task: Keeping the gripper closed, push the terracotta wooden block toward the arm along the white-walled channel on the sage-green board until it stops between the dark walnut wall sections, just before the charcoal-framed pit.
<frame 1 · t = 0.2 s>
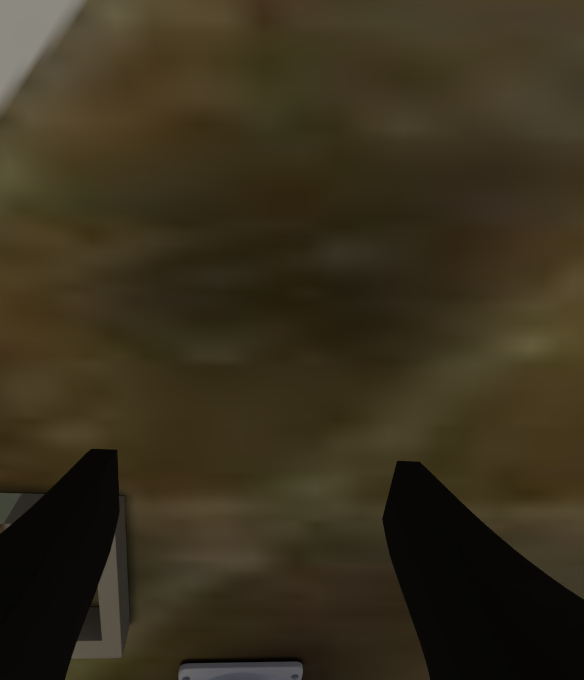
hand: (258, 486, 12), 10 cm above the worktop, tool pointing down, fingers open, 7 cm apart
route board: (3, 563, 26), on the worktop
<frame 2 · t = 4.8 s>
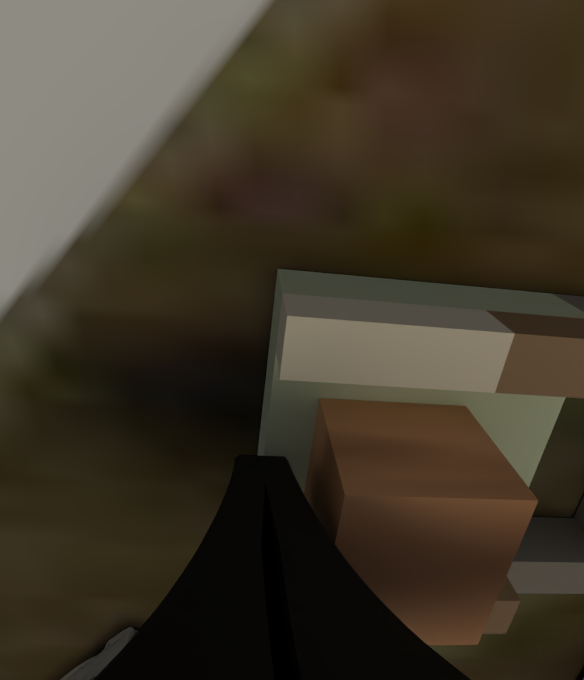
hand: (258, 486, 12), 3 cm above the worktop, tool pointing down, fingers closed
route board: (458, 433, 16), on the worktop
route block: (378, 470, 13), point 2 cm above the worktop, touching gripper
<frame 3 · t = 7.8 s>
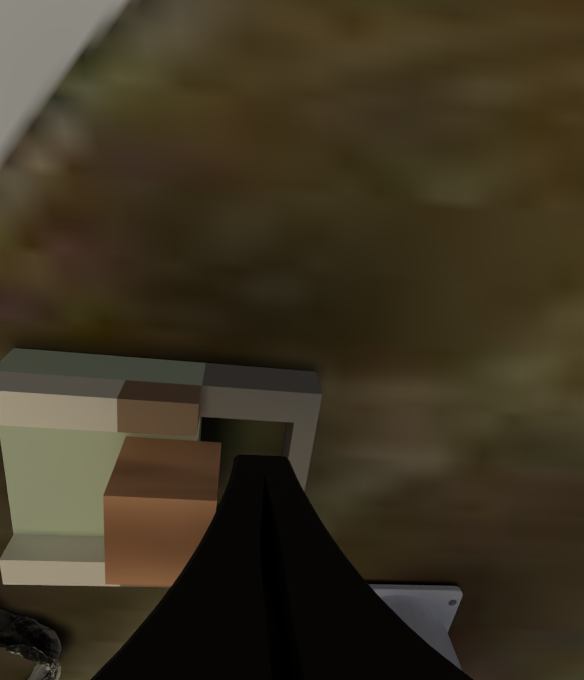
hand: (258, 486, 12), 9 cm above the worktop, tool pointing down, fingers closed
route board: (168, 452, 23), on the worktop
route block: (172, 480, 21), point 2 cm above the worktop, touching route board
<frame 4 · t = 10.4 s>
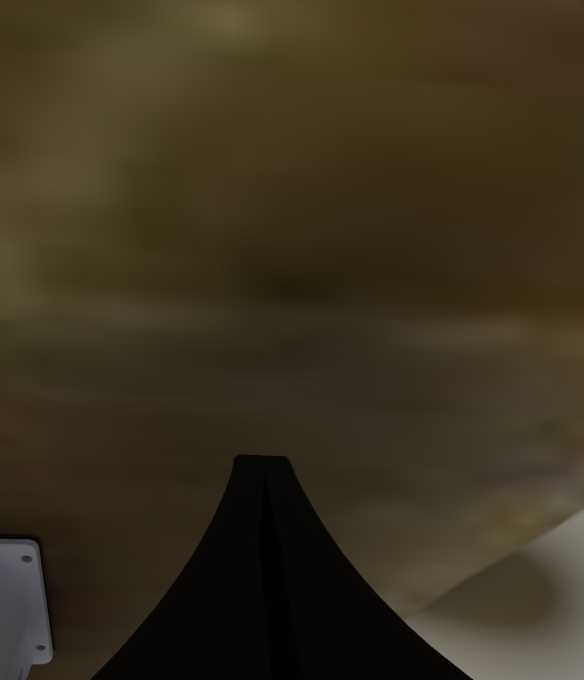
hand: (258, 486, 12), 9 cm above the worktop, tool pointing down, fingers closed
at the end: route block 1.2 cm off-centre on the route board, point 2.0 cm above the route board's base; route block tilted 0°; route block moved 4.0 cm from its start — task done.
